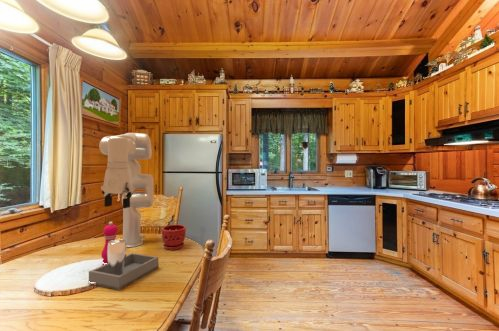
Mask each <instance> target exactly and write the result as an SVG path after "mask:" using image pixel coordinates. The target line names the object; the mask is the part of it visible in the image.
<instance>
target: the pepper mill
mask: <svg viewBox="0 0 499 331" xmlns="http://www.w3.org/2000/svg"><path fill="white" fill-rule="evenodd" d="M102 232H103V234H104V240H105V243H104V247H103V249H102V251H101V258H102V261H103V262H104V263H108V257H107V249H108V242H109V241H111V240H115V239H117V234H116V233H118V226H117V225H115V224H114V223H113V221H109V222H108V225H105V227H104V228H103V231H102Z"/></svg>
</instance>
